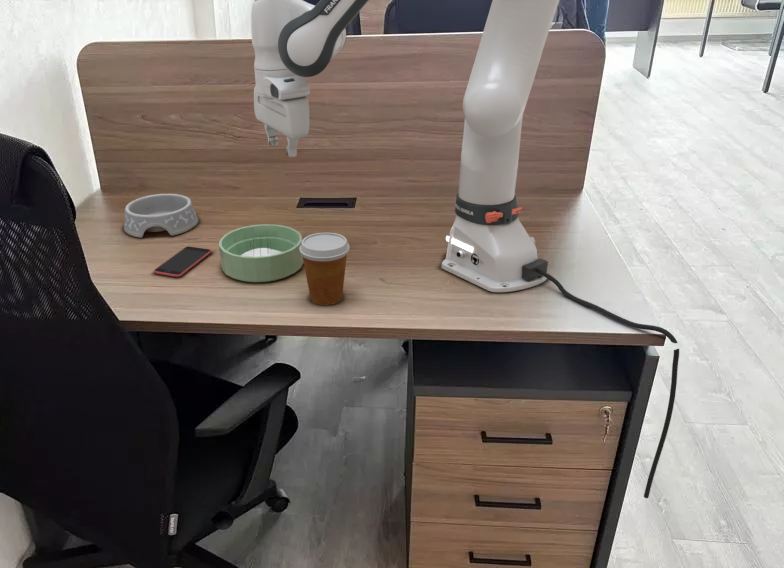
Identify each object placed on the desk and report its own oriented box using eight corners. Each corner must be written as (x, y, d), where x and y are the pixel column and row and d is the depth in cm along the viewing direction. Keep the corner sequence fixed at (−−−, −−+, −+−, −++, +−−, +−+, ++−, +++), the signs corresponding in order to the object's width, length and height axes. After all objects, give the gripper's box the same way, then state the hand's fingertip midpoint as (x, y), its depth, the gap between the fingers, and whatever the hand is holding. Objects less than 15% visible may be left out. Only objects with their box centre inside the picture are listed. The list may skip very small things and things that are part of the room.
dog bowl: (130, 214, 187) (126, 194, 184) (201, 209, 187) (198, 189, 184) (118, 240, 173) (114, 219, 170) (195, 235, 173) (192, 214, 170)
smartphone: (151, 271, 156) (186, 245, 166) (152, 273, 156) (187, 248, 166) (179, 275, 153) (213, 249, 164) (179, 278, 153) (213, 251, 164)
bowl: (316, 272, 152) (315, 246, 149) (237, 291, 147) (234, 264, 144) (285, 243, 166) (283, 218, 163) (212, 259, 161) (208, 234, 158)
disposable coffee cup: (299, 308, 139) (295, 251, 133) (305, 286, 147) (302, 231, 141) (348, 310, 138) (347, 252, 132) (352, 287, 146) (351, 231, 140)
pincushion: (290, 255, 159) (289, 231, 156) (290, 267, 154) (289, 243, 151) (236, 258, 159) (233, 234, 156) (234, 270, 154) (231, 246, 151)
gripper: (243, 75, 151) (250, 141, 159) (283, 92, 135) (288, 165, 143) (271, 71, 153) (276, 136, 161) (313, 88, 138) (317, 159, 145)
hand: (282, 150), depth 152 cm, fingers open, 8 cm apart
